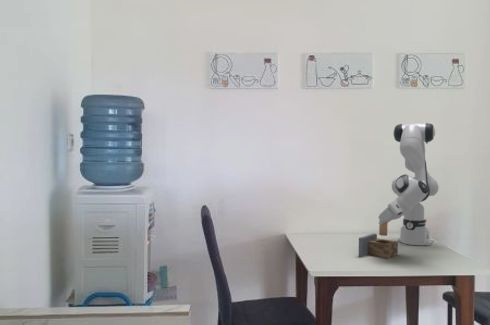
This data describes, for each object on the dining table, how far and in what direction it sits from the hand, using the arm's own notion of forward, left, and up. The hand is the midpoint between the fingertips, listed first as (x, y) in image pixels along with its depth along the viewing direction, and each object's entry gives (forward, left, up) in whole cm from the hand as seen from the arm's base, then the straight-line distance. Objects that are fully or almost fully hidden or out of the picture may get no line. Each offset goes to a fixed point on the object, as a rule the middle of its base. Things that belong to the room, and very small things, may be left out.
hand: (382, 223), depth 226 cm
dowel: (0, +1, -6) cm, 6 cm away
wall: (+4, -6, -17) cm, 18 cm away
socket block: (0, +1, -16) cm, 16 cm away
